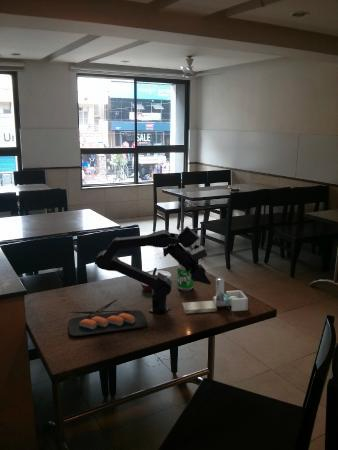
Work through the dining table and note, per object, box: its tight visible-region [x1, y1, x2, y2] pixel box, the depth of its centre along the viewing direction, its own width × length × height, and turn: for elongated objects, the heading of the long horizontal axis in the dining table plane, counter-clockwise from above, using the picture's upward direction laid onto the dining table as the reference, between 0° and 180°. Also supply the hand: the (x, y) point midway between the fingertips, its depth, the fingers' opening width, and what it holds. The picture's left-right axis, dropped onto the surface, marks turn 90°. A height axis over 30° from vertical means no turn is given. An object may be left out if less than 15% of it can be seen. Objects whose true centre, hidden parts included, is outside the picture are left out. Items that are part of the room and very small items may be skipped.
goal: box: [225, 289, 249, 312], centre depth 170 cm, size 6×9×5 cm
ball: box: [229, 296, 237, 307], centre depth 170 cm, size 4×4×4 cm
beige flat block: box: [181, 300, 218, 314], centre depth 168 cm, size 13×7×2 cm, turn 98°
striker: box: [212, 277, 231, 307], centre depth 168 cm, size 6×6×11 cm
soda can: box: [177, 263, 195, 292], centre depth 188 cm, size 8×8×12 cm
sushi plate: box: [67, 299, 148, 337], centre depth 162 cm, size 29×30×4 cm
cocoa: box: [140, 267, 158, 293], centre depth 185 cm, size 10×6×12 cm, turn 27°
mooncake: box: [148, 269, 172, 282], centre depth 200 cm, size 12×12×4 cm
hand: (207, 279), depth 166 cm, fingers open, 9 cm apart
